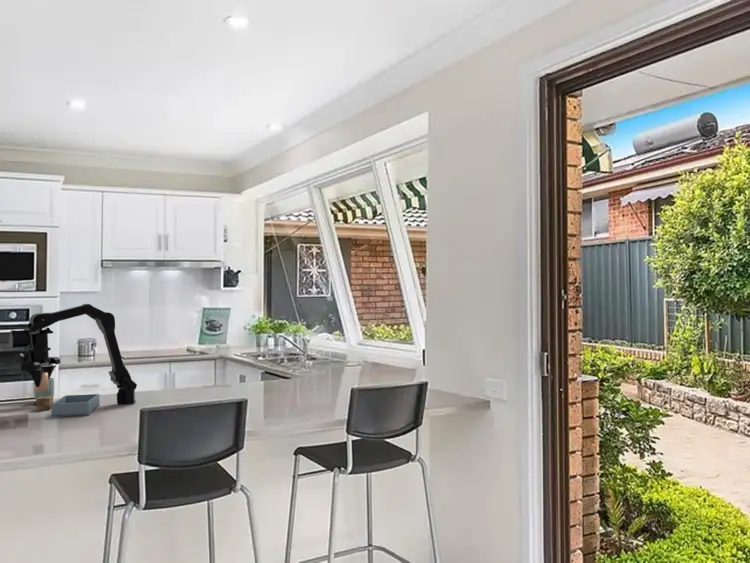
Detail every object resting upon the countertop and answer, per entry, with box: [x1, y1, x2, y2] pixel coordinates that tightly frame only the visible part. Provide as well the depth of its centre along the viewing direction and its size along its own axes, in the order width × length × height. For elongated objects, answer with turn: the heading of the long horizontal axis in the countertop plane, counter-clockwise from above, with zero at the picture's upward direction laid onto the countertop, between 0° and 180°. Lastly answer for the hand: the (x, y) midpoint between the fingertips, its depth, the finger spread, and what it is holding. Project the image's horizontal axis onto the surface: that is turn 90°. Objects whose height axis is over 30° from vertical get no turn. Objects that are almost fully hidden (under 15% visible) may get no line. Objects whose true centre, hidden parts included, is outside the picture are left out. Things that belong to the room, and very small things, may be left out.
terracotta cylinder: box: [33, 372, 49, 393], centre depth 264 cm, size 5×5×7 cm
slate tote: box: [51, 393, 101, 418], centre depth 270 cm, size 13×19×5 cm
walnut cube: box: [35, 396, 54, 412], centre depth 275 cm, size 5×5×5 cm
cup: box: [33, 377, 55, 401], centre depth 292 cm, size 8×8×10 cm
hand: (41, 385), depth 264 cm, fingers closed on terracotta cylinder, 5 cm apart
